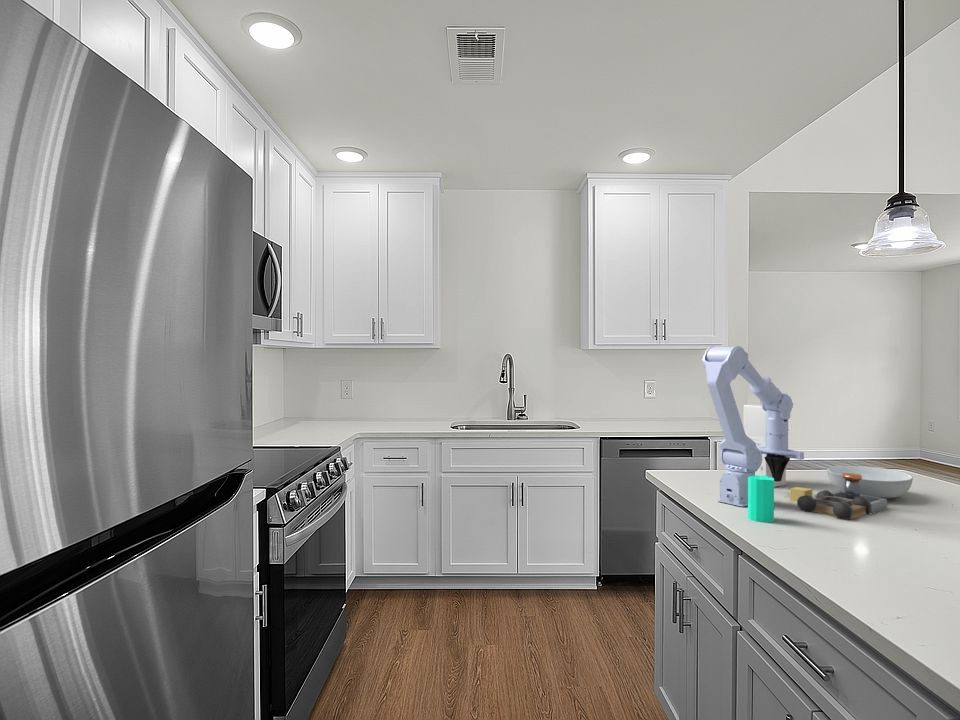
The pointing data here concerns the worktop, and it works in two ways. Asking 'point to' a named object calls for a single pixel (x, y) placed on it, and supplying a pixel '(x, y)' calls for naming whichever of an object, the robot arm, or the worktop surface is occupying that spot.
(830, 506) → the trolley
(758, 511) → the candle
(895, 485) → the serving bowl
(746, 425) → the tall white carton
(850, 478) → the pin
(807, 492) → the yellow cube
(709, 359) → the robot arm
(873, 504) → the tray
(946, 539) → the worktop surface
